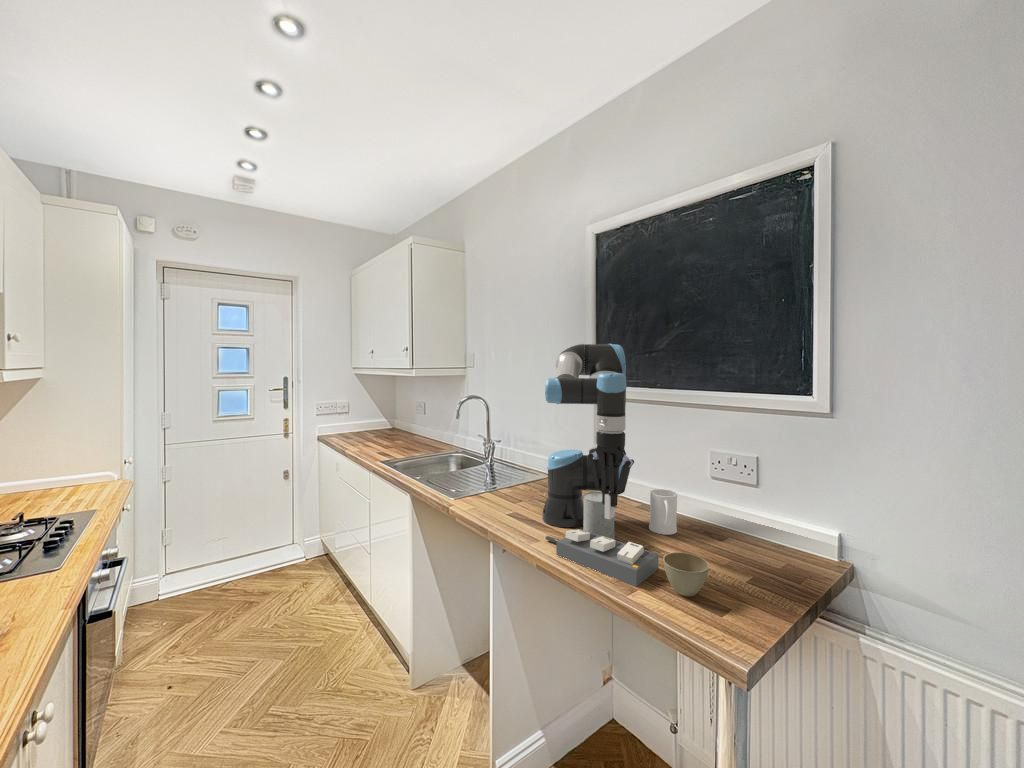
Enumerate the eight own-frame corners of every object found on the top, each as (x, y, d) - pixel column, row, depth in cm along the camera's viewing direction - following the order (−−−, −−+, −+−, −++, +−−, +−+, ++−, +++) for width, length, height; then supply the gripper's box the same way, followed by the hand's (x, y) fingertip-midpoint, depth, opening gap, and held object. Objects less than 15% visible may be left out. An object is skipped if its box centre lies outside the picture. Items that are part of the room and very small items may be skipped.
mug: (679, 540, 131) (680, 501, 131) (650, 537, 134) (650, 498, 133) (675, 526, 143) (676, 489, 142) (648, 523, 145) (649, 487, 144)
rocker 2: (590, 547, 115) (590, 539, 115) (602, 542, 119) (602, 535, 119) (603, 551, 112) (603, 544, 112) (615, 547, 116) (615, 539, 116)
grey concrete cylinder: (616, 532, 138) (616, 493, 137) (612, 544, 129) (613, 503, 128) (585, 528, 141) (586, 490, 140) (580, 539, 132) (580, 499, 131)
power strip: (532, 546, 127) (532, 532, 127) (558, 534, 136) (558, 521, 135) (636, 586, 104) (636, 569, 104) (658, 569, 113) (658, 553, 113)
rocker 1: (565, 537, 120) (566, 530, 120) (577, 535, 125) (578, 529, 125) (577, 541, 118) (578, 534, 118) (589, 539, 122) (590, 532, 122)
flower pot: (655, 581, 107) (656, 552, 107) (694, 579, 108) (695, 551, 108) (674, 603, 97) (674, 572, 97) (717, 601, 98) (717, 570, 98)
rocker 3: (617, 559, 110) (617, 553, 109) (629, 547, 114) (628, 541, 113) (632, 564, 107) (631, 558, 107) (643, 552, 111) (643, 545, 111)
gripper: (582, 429, 118) (581, 514, 120) (625, 436, 109) (624, 527, 111) (597, 426, 124) (596, 507, 125) (640, 432, 115) (638, 519, 116)
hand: (609, 517), depth 118 cm, fingers closed
